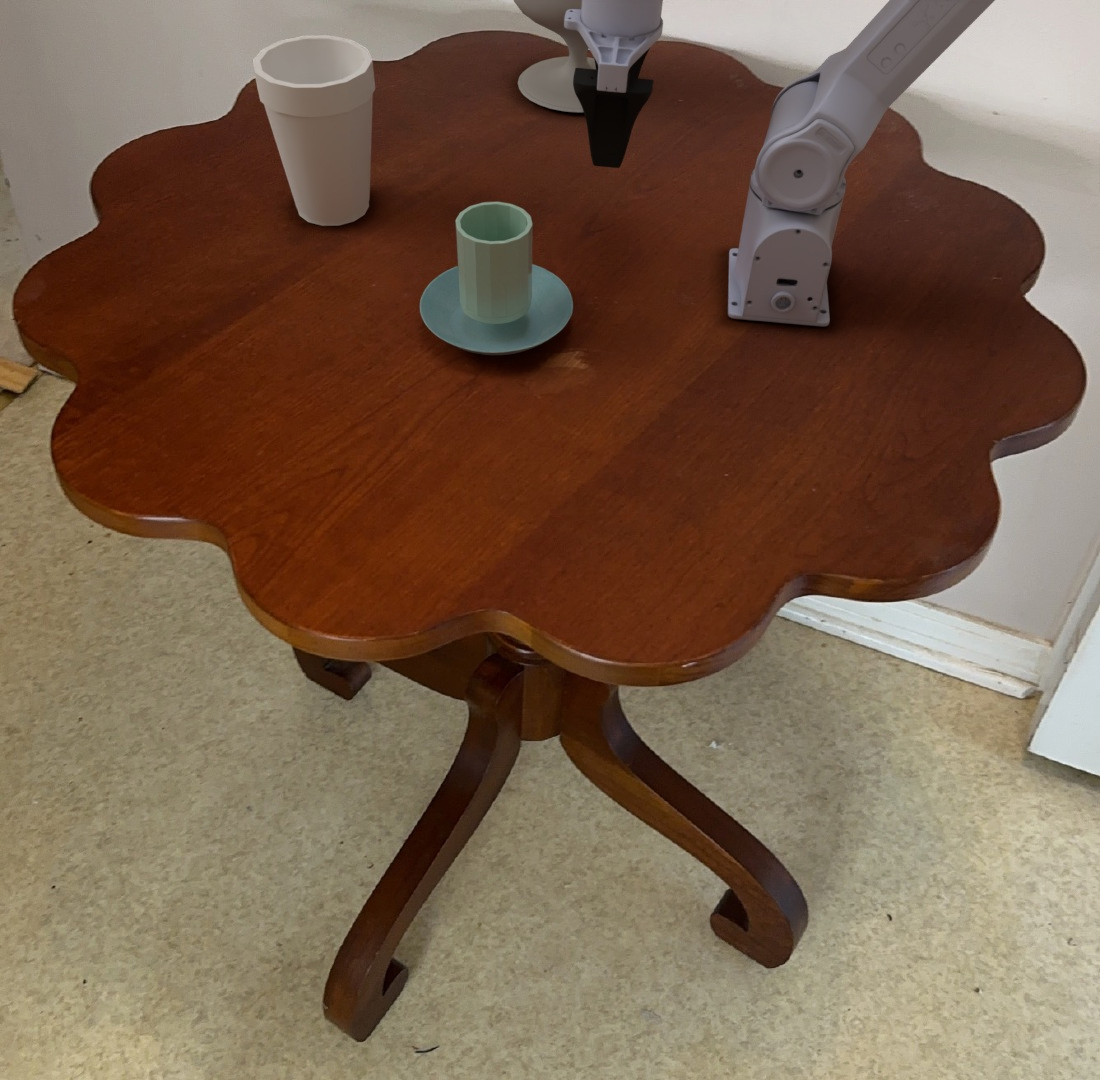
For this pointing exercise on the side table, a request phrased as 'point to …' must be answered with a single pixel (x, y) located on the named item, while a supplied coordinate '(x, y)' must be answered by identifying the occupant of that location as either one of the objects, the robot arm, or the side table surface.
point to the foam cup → (321, 122)
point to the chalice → (554, 76)
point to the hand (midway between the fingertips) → (610, 139)
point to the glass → (494, 262)
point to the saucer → (497, 339)
